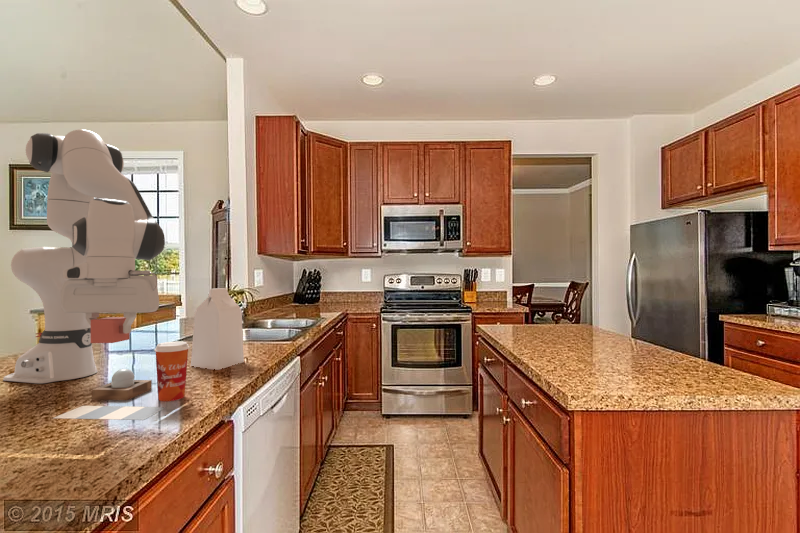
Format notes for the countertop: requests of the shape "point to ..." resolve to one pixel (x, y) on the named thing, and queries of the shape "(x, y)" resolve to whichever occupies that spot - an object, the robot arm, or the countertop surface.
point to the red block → (107, 330)
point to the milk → (217, 332)
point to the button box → (121, 391)
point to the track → (111, 412)
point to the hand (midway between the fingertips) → (111, 333)
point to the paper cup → (171, 370)
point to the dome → (122, 378)
